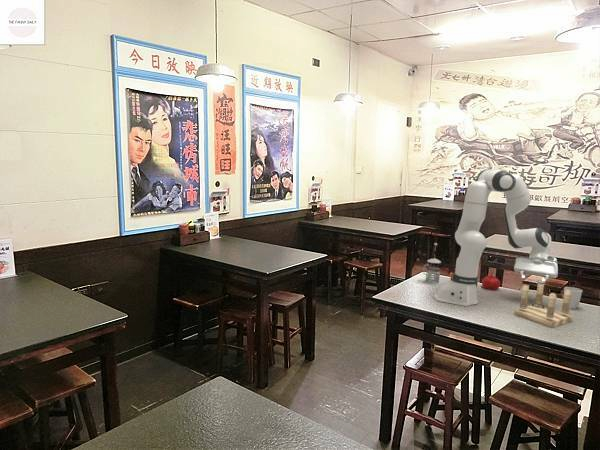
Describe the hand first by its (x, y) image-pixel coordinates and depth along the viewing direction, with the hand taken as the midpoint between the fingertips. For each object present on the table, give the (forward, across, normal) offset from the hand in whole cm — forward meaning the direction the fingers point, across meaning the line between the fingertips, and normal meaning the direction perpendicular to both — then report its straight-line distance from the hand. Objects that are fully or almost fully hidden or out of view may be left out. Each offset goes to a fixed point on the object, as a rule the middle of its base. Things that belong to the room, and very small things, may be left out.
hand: (533, 280), depth 218 cm
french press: (+7, -54, +13) cm, 56 cm away
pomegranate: (-4, -24, +24) cm, 34 cm away
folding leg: (+11, +4, +3) cm, 12 cm away
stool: (+20, +8, 0) cm, 21 cm away
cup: (0, +17, +20) cm, 26 cm away
